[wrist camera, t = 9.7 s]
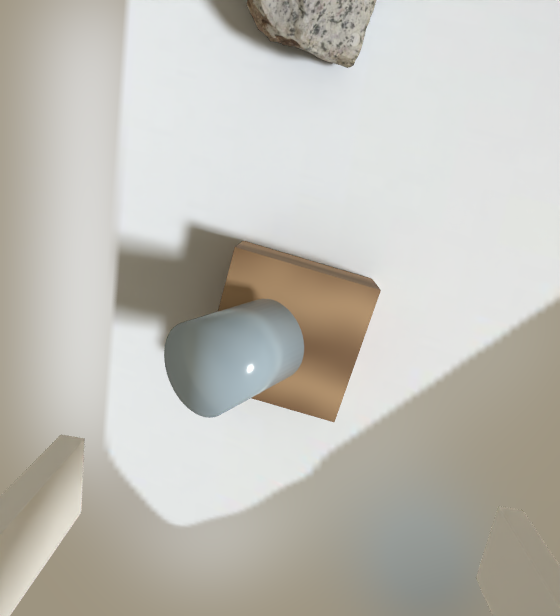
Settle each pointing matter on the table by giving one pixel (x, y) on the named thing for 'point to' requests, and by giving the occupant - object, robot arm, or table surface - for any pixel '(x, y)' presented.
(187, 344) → the grey rounded cylinder
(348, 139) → the table surface
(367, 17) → the rock
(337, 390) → the walnut block
